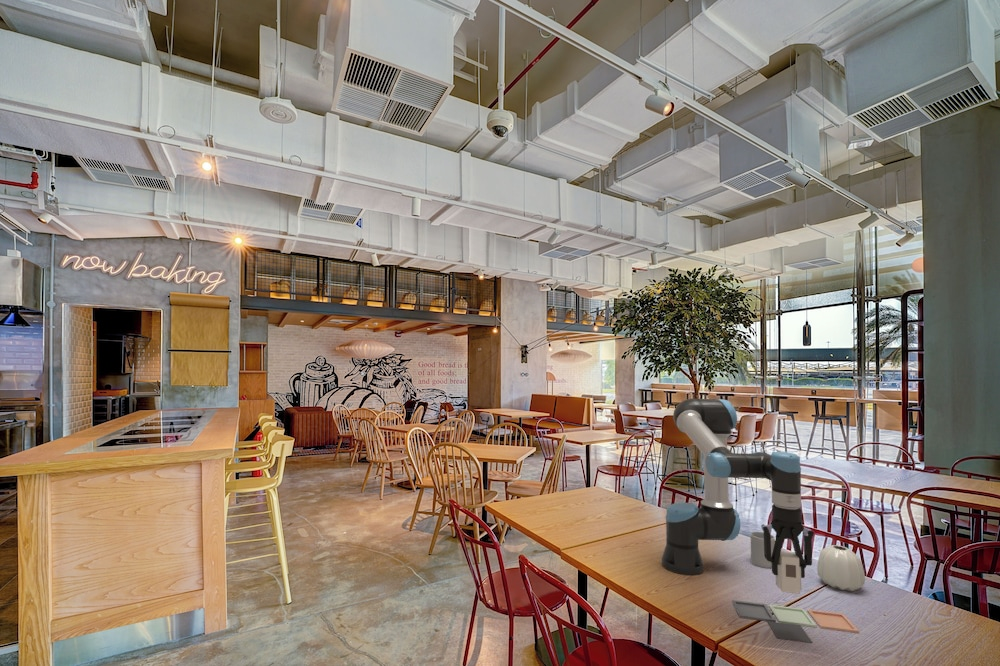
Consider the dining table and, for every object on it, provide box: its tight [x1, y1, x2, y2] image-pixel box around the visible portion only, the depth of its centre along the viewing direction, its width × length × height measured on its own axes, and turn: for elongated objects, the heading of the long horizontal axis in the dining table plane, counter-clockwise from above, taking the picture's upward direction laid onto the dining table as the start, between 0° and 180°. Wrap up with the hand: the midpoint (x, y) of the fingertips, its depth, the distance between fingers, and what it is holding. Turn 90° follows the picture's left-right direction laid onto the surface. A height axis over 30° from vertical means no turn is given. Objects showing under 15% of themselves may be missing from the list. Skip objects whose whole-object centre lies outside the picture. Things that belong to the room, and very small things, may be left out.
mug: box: [750, 531, 776, 569], centre depth 190 cm, size 12×8×11 cm
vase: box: [816, 544, 866, 592], centre depth 171 cm, size 14×14×13 cm
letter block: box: [778, 550, 801, 595], centre depth 140 cm, size 4×5×10 cm
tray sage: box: [768, 604, 818, 629], centre depth 148 cm, size 10×10×1 cm
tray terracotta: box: [806, 609, 860, 634], centre depth 145 cm, size 10×10×1 cm
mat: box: [766, 621, 813, 644], centre depth 139 cm, size 9×9×1 cm
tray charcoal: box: [731, 599, 777, 622], centre depth 150 cm, size 10×10×1 cm
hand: (788, 587), depth 140 cm, fingers closed on letter block, 4 cm apart
